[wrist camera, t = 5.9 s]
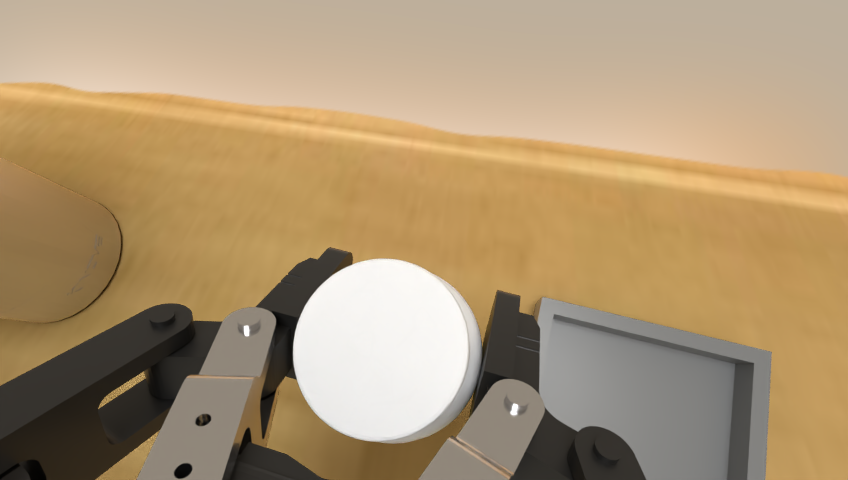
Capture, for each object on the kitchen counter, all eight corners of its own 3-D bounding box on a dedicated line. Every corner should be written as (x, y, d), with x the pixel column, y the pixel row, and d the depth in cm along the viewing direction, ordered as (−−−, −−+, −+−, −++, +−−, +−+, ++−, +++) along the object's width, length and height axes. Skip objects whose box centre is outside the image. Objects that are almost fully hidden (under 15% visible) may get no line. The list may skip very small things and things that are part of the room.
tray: (494, 513, 24) (497, 528, 22) (535, 303, 27) (542, 296, 25) (727, 589, 22) (758, 614, 20) (743, 354, 25) (771, 351, 23)
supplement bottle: (467, 293, 18) (477, 231, 10) (481, 414, 17) (506, 453, 9) (354, 304, 18) (275, 252, 10) (358, 425, 17) (272, 473, 9)
